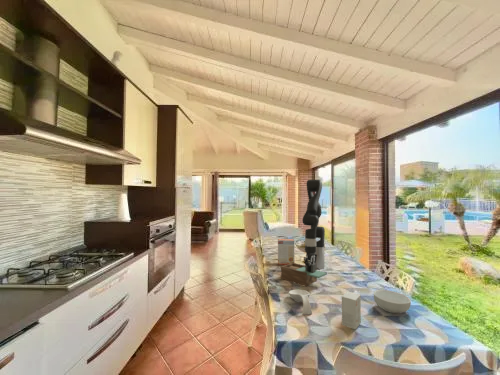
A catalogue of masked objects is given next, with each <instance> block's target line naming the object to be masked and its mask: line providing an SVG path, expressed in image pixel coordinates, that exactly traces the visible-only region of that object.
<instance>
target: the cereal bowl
mask: <svg viewBox="0 0 500 375" xmlns="http://www.w3.org/2000/svg"><path fill="white" fill-rule="evenodd" d="M373 300H374V302H375V304H376V305H377V306H378V307H380V308H381V309H383V310H384V311H386V312H388V313H391V314H399V313H406V312H408V310H410V308H411V302H412V300H411V299H410V298H409V296H407V295H405V294H402V293H400V292H397V291H393V290H387V289H378V290H375V291H374V292H373Z"/></svg>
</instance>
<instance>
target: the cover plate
mask: <svg viewBox="0 0 500 375" xmlns="http://www.w3.org/2000/svg"><path fill="white" fill-rule="evenodd" d="M304 266H305V267H302V268H299V269H296V270H299V271H302V272H306V273H307V275H309V276H312V277H316V278H317V279H320V278H322V277H325V276H326V275H328V273H327V272H325V271H320V270H318V269H317V270H316V264H312V263H311V271H310V272H309V271H307V265H305V264H304Z"/></svg>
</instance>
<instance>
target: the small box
mask: <svg viewBox="0 0 500 375" xmlns="http://www.w3.org/2000/svg"><path fill="white" fill-rule="evenodd" d="M361 298H362V297H361V294H359V293H356V292H352V291H348V290H347V291H346V292H345V293H344V294H342V296H341V325H342V326H343V327H347V328H350V329H353V330H357V329H358V327H359V325H360V324H361V323H362V321H361V320H362V318H361V316H362V315H361V314H362V312H361V311H362V310H361V308H362V305H361V304H362V302H361Z"/></svg>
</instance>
